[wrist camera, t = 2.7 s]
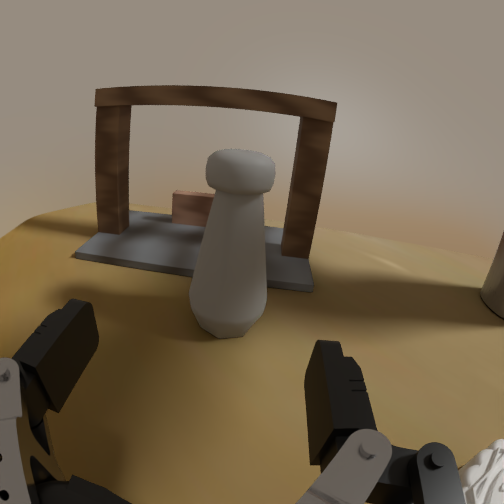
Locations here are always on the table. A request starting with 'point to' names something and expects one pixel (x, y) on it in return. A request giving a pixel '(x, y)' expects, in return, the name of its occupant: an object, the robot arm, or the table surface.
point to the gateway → (199, 204)
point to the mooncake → (484, 476)
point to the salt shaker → (233, 244)
